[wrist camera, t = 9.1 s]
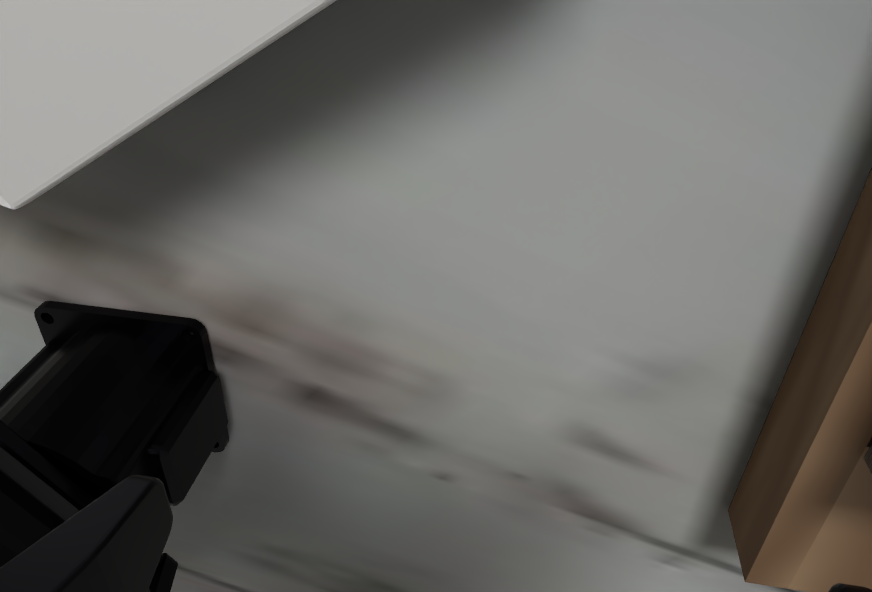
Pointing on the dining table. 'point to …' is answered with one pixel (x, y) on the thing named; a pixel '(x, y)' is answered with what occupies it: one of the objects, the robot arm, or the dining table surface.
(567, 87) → the dining table surface
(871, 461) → the grey block
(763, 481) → the rail
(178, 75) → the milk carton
